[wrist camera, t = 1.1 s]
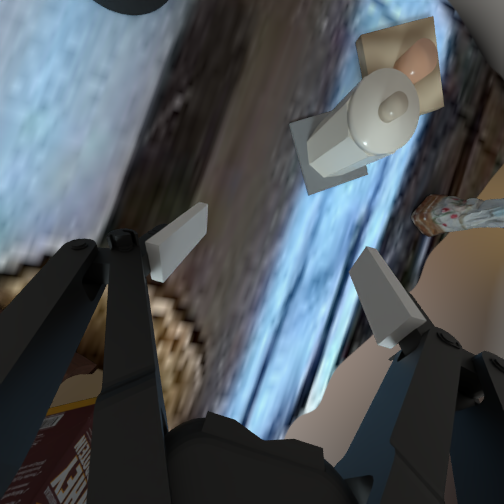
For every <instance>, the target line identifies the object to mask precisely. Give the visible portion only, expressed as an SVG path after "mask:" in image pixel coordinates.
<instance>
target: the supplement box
mask: <svg viewBox="0 0 504 504" xmlns="http://www.w3.org/2000/svg"><path fill="white" fill-rule="evenodd" d="M96 399H97V397H94V398H90V399H86V400H82V401H78V402H73V403H69V404H65V405H60V406H57V407H52V408H49V410H48V412H47V414H46V416H45V418H44V420H43V423H42V425H41V427H40V429H39V431H38V433H37V435H36V438H35V440H34V442H33V444H32V446H31V448H30V450H29V452H28V454H27V456H26V457H25V459H24V461H23V463H22V465H21V467H20V469H19V470H18V472H17V474H16V475H15V477H14V479H13V480H12V482H11V484H10V485H9V487H8V489H7V490H6V492H5V494H4V495H3V497H2V498H1V500H0V504H86V500H87V488H88V475H89V463H90V451H91V439H92V426H93V414H94V407H95V402H96Z"/></svg>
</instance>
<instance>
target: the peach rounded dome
mask: <svg viewBox="0 0 504 504" xmlns="http://www.w3.org/2000/svg"><path fill="white" fill-rule="evenodd" d="M437 59H438V53H437V48H436V46H435V44H434V43H433V42H432V41H431V40H430V39H428V38H421V39H419V40H418V41H417V42H415V43H414V44H413V45H412V46H411V47H410V48H409V49H408V50H407V51H406V52H405V53H404V54H403V55H402V56H401V57H400V58H399V59H398V60H397V61H396V62H395V64H394V66H393V69H396V70H399V71H401V72H402V73H404V74H405V75H406V76H407V77H408V78H409V79H410V80H411V82H412V83H413V85H415V84H416V83H417V82H419V81H420V80H421V79H423V78H424V77H425V76H427V75H428V74H430V73H431V72H432V71H433V70H434V68H435V66H436V64H437Z"/></svg>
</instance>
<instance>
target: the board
mask: <svg viewBox="0 0 504 504" xmlns="http://www.w3.org/2000/svg"><path fill="white" fill-rule="evenodd" d="M421 38H428V39H430V40H431V41H432V42H433V43H434V44H435V46H436V48H437V43H436V35H435V26H434V18H433V16H432V17H428V18H424V19H420V20H416V21H412V22H409V23H405V24H401V25H397V26H393V27H389V28H386V29H382V30H378V31H374V32H370V33H366V34H362V35H360V37H359V38H358V40H357V41H356V42H355V43H356V48H357V53H358V58H359V63H360V69H361V74H362V79H363V78H364V77H365V76H368V75H369V74H371V73H372V72H374V71H376V70H378V69H382V68H393V66H394V64H395V62H396V61H397V60H398V59H399V58H400V57H401V56H402V55H403V54H404V53H405V52H406V51H407V50H408V49H409V48H410V47H411V46H412V45H413V44H414V43H415V42H417V41H418V40H419V39H421ZM437 53H438V52H437ZM414 87H415V89H416V91H417V94H418V98H419V105H420V113H419V116H420V115H423V114H426V113H429V112H432V111H435V110H437V109H439V108H441V107H443V106H444V103H443V94H442V86H441V77H440V69H439V60H438V59H437V64H436V66H435V68H434V70H433V71H432V72H431V73H430V74H428V75H427V76H425V77H424V78H423V79H421V80H420V81H419V82H417V83H416V84H415V85H414Z"/></svg>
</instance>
